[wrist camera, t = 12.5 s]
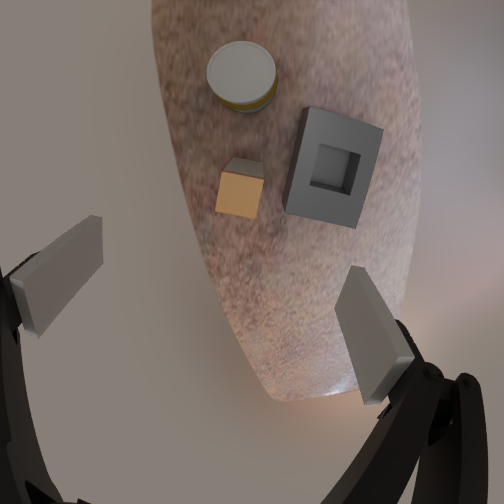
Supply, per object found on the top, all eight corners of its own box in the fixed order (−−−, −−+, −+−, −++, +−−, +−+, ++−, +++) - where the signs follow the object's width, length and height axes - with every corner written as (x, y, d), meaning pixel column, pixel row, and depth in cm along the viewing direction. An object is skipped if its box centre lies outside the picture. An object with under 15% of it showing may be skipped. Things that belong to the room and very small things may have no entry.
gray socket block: (303, 108, 36) (309, 106, 31) (369, 128, 37) (383, 129, 32) (281, 201, 42) (284, 212, 37) (345, 216, 43) (355, 228, 38)
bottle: (255, 122, 37) (253, 121, 24) (212, 98, 36) (186, 85, 22) (282, 82, 35) (295, 60, 21) (239, 58, 33) (228, 24, 20)
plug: (233, 156, 40) (222, 171, 28) (262, 162, 40) (264, 179, 28) (228, 184, 41) (214, 211, 30) (256, 190, 42) (255, 219, 30)
